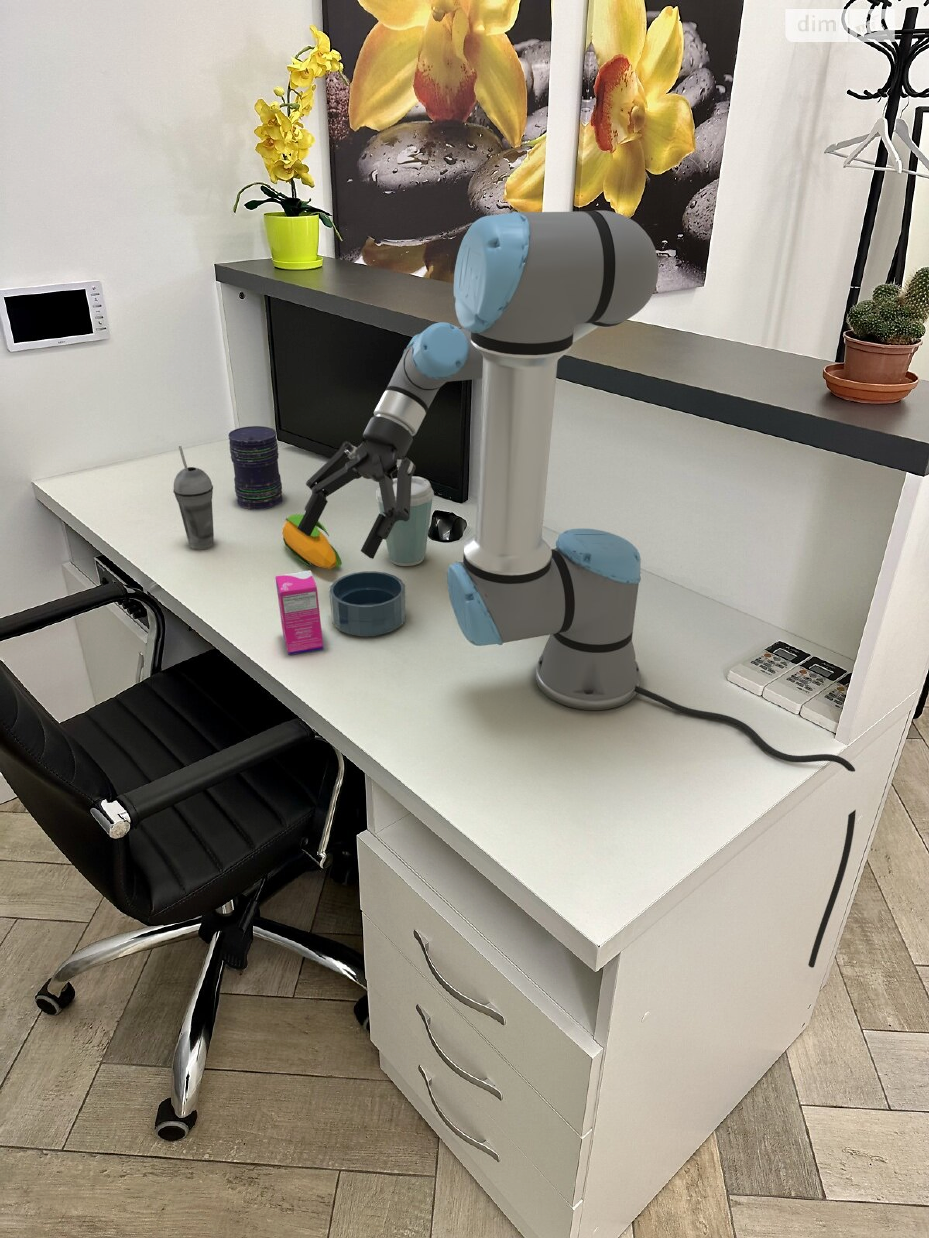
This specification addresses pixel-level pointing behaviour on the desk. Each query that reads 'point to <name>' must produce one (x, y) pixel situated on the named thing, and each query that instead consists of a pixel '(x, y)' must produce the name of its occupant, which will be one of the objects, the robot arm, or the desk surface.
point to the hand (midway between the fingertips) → (334, 543)
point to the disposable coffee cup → (410, 525)
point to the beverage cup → (195, 505)
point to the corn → (309, 544)
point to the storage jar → (256, 467)
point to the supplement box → (299, 612)
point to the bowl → (368, 603)
